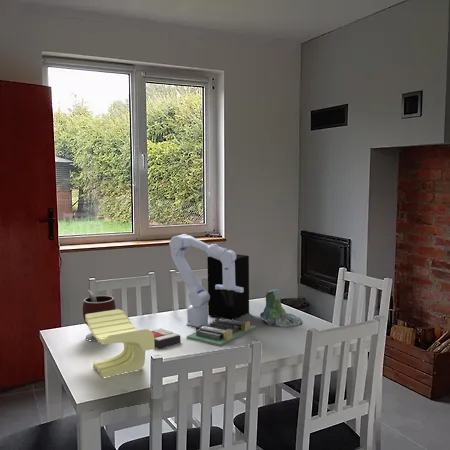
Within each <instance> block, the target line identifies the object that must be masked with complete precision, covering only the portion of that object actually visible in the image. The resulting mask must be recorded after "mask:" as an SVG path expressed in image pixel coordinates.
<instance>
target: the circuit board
mask: <svg viewBox="0 0 450 450" xmlns="http://www.w3.org/2000/svg"><path fill="white" fill-rule="evenodd" d="M255 329H256V325H255V326H254V325H250V329H249V330H247V331H245V332H244V331H241V330H240V331H237V332H235V333H233V334H232V338H231V339H229V340H223V339H221V340H219V341H218V340H214V339H209V338H205V337H200V336H196V331H195V332H193V333H191V334H189V335H186V339H187V340H192V341H195V342H200V343H205V344H208V345H212V346H213V345H214V346H218V347H222V346H224V345H226V344H228V343H230V342H233V341H234V340H236V339H238V338H241V337H242V336H244V335H246V334H248V333H250V332H251V331H255Z"/></svg>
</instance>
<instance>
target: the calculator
mask: <svg viewBox="0 0 450 450" xmlns="http://www.w3.org/2000/svg"><path fill="white" fill-rule="evenodd" d="M150 331H151V332H152V333H153V335H154V347H155V349H158V350H161V349H164V348H169V347H173V346H175V345H180V344H181V343H182V342H181V340H182V339H181V334H180V333H175V332H173V331H170V330H168V329H164V328H162V327H161V328H156V329H152V330H150Z"/></svg>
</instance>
